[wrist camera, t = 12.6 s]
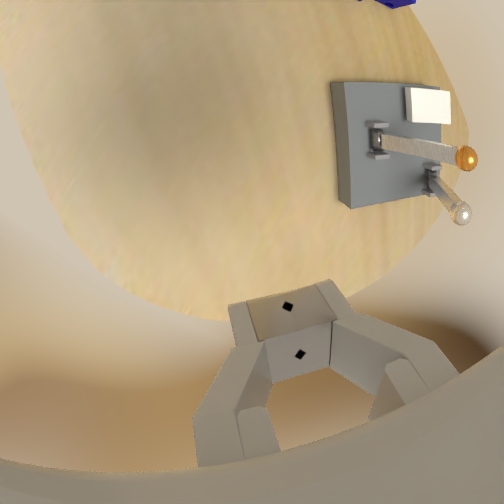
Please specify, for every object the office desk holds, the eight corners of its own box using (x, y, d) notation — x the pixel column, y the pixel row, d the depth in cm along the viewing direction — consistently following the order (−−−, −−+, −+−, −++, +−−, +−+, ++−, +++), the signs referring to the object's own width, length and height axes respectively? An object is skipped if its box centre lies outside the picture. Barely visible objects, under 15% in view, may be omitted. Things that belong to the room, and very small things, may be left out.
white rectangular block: (404, 87, 33) (410, 87, 31) (443, 90, 32) (449, 91, 31) (406, 120, 35) (412, 122, 34) (444, 122, 35) (450, 124, 33)
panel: (330, 82, 36) (352, 81, 30) (423, 85, 37) (449, 88, 32) (338, 199, 45) (358, 214, 39) (423, 184, 47) (446, 196, 41)
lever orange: (366, 129, 35) (475, 150, 24) (377, 127, 36) (480, 147, 25) (367, 151, 36) (473, 176, 25) (378, 147, 38) (478, 171, 27)
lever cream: (422, 168, 41) (456, 206, 28) (438, 169, 40) (477, 207, 28) (421, 186, 42) (453, 229, 30) (437, 186, 41) (472, 229, 29)
